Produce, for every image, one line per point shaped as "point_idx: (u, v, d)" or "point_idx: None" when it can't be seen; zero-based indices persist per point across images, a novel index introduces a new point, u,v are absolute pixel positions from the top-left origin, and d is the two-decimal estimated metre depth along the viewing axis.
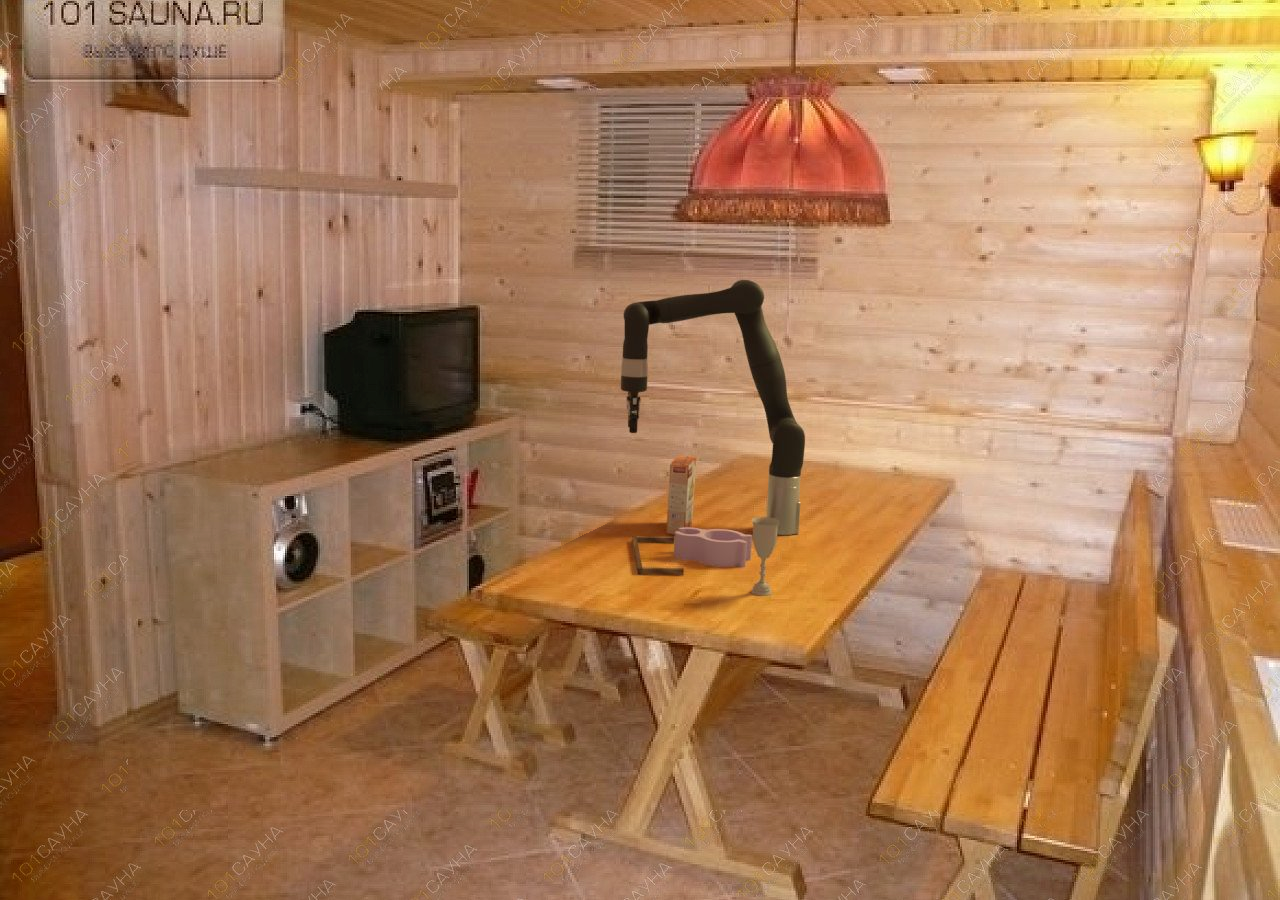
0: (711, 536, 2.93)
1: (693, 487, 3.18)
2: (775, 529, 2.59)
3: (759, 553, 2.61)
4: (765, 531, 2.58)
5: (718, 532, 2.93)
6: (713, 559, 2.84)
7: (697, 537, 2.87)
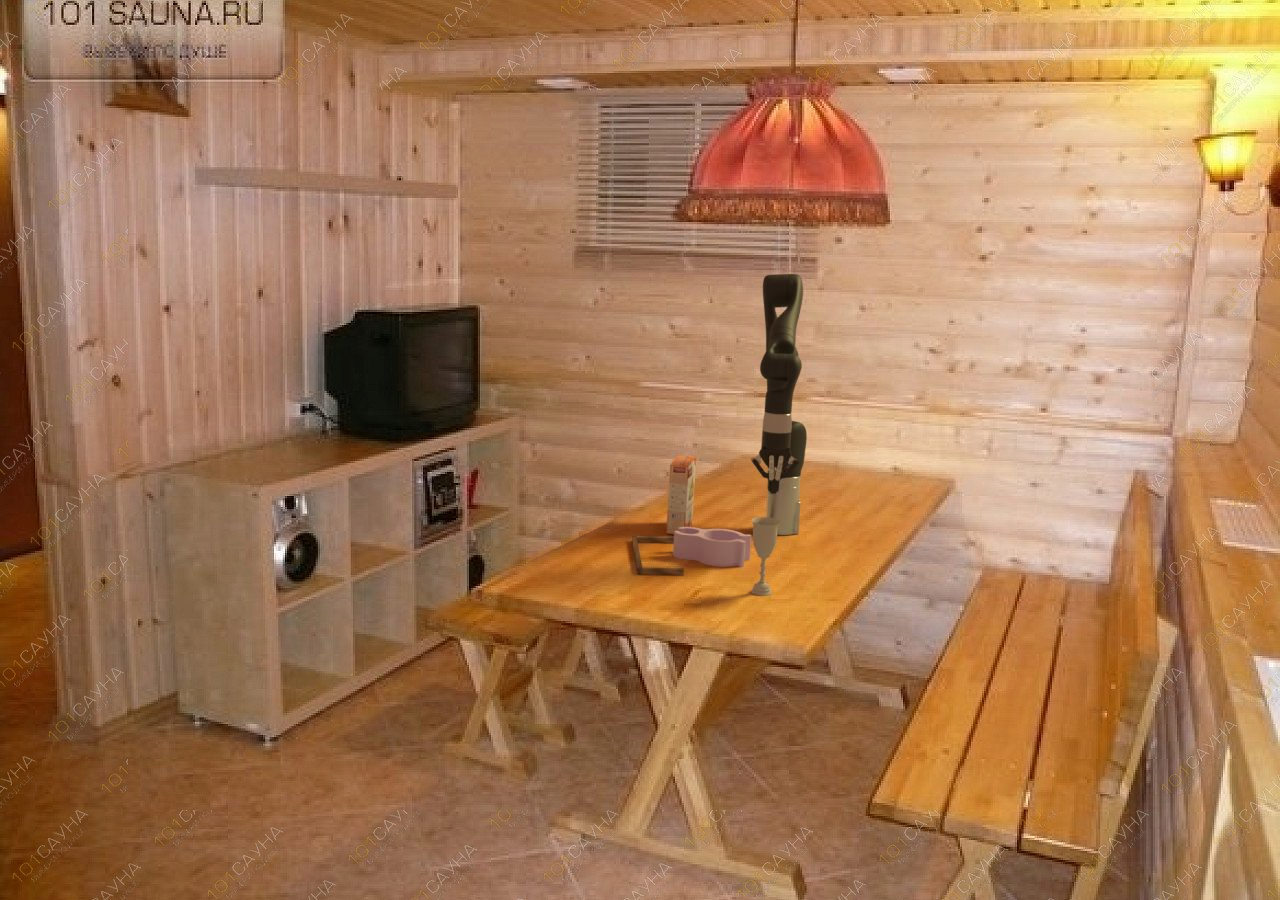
0: (710, 536, 2.93)
1: (693, 487, 3.18)
2: (775, 529, 2.59)
3: (759, 553, 2.61)
4: (765, 531, 2.58)
5: (717, 532, 2.93)
6: (712, 559, 2.84)
7: (696, 537, 2.87)
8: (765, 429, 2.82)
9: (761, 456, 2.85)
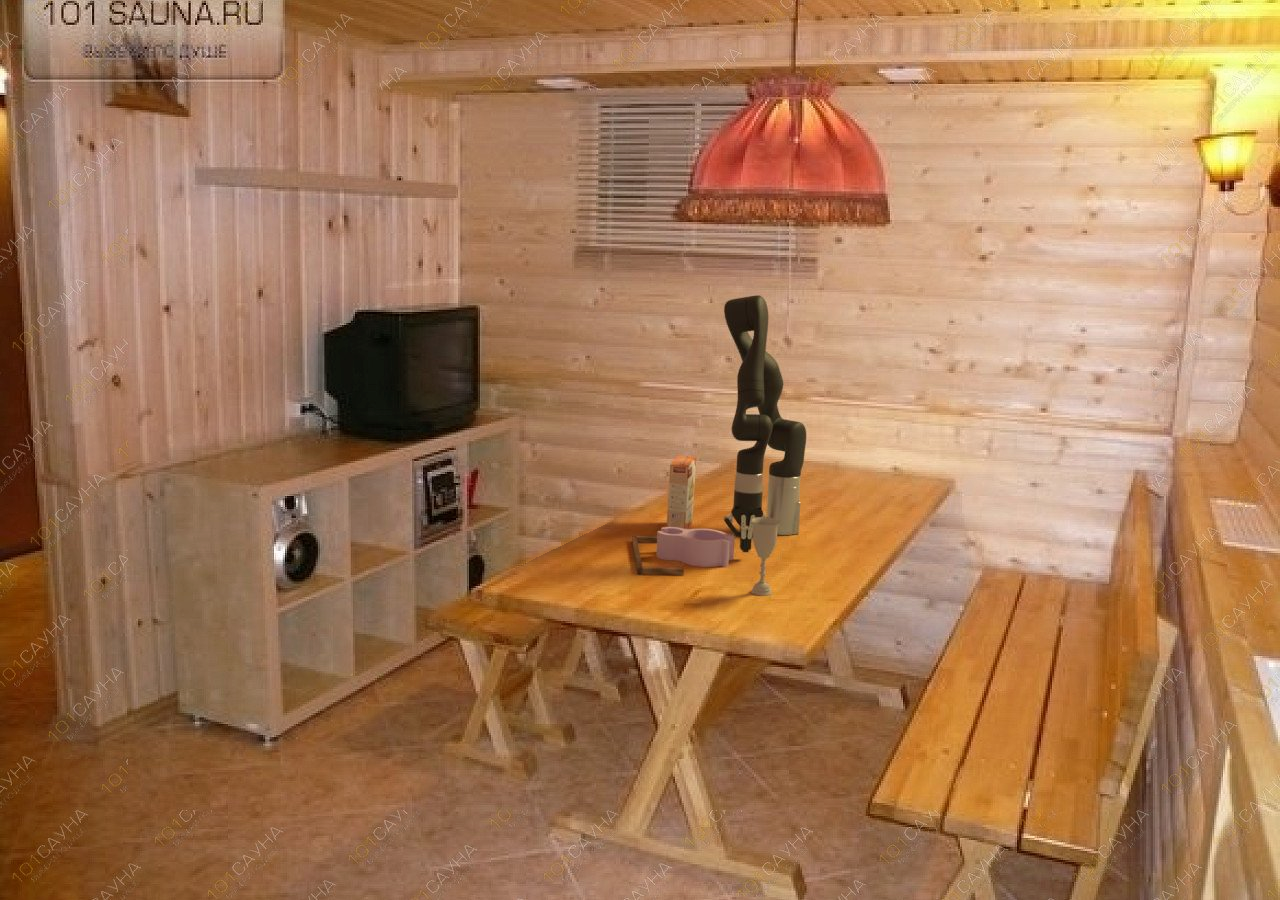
0: (694, 536, 2.92)
1: (693, 487, 3.18)
2: (775, 529, 2.59)
3: (759, 553, 2.61)
4: (765, 531, 2.58)
5: (700, 531, 2.93)
6: (696, 559, 2.83)
7: (680, 537, 2.86)
8: (737, 489, 2.85)
9: (733, 515, 2.87)
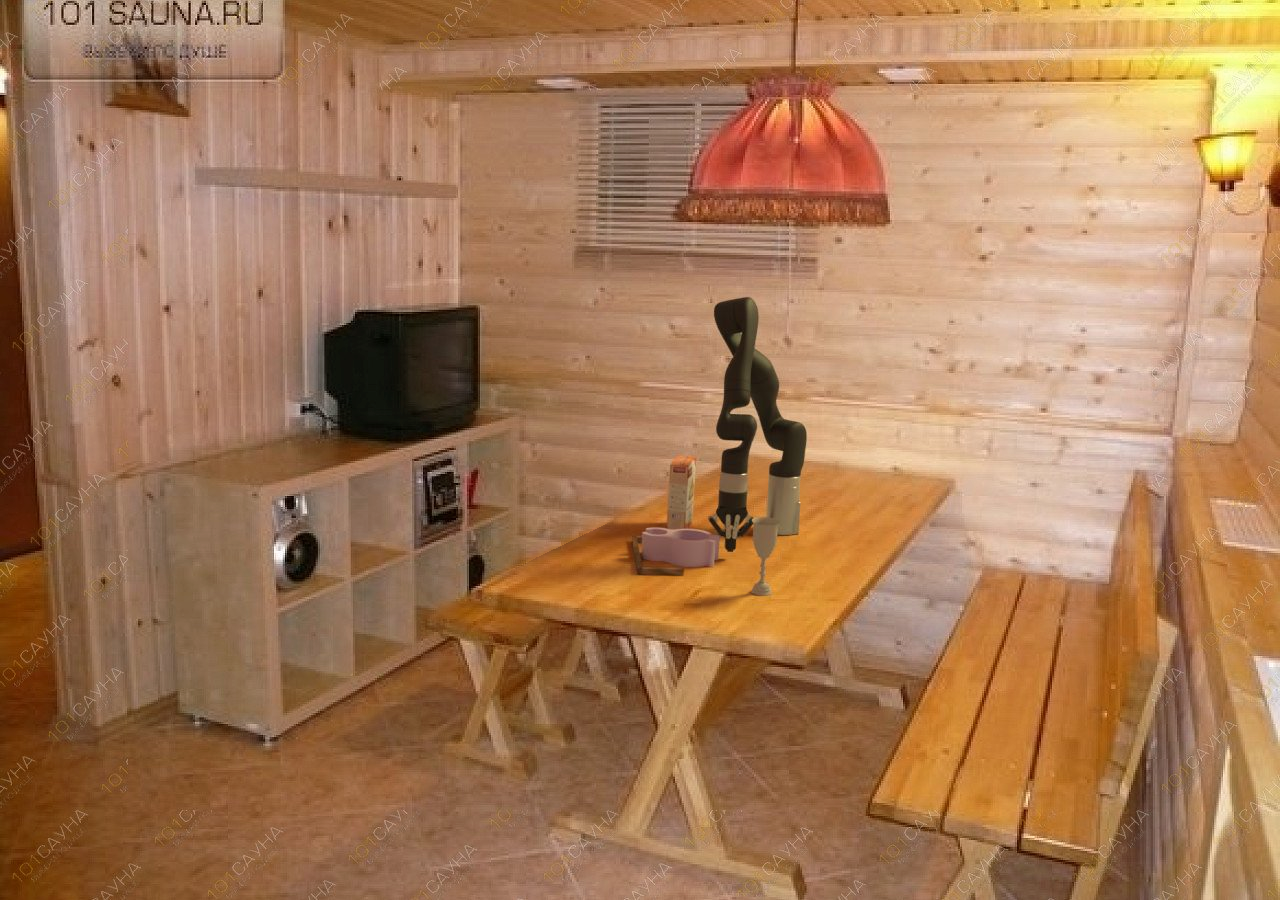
0: (678, 536, 2.91)
1: (693, 487, 3.18)
2: (775, 529, 2.59)
3: (759, 553, 2.61)
4: (765, 531, 2.58)
5: (685, 532, 2.92)
6: (682, 559, 2.82)
7: (665, 538, 2.85)
8: (721, 488, 2.85)
9: (718, 515, 2.87)
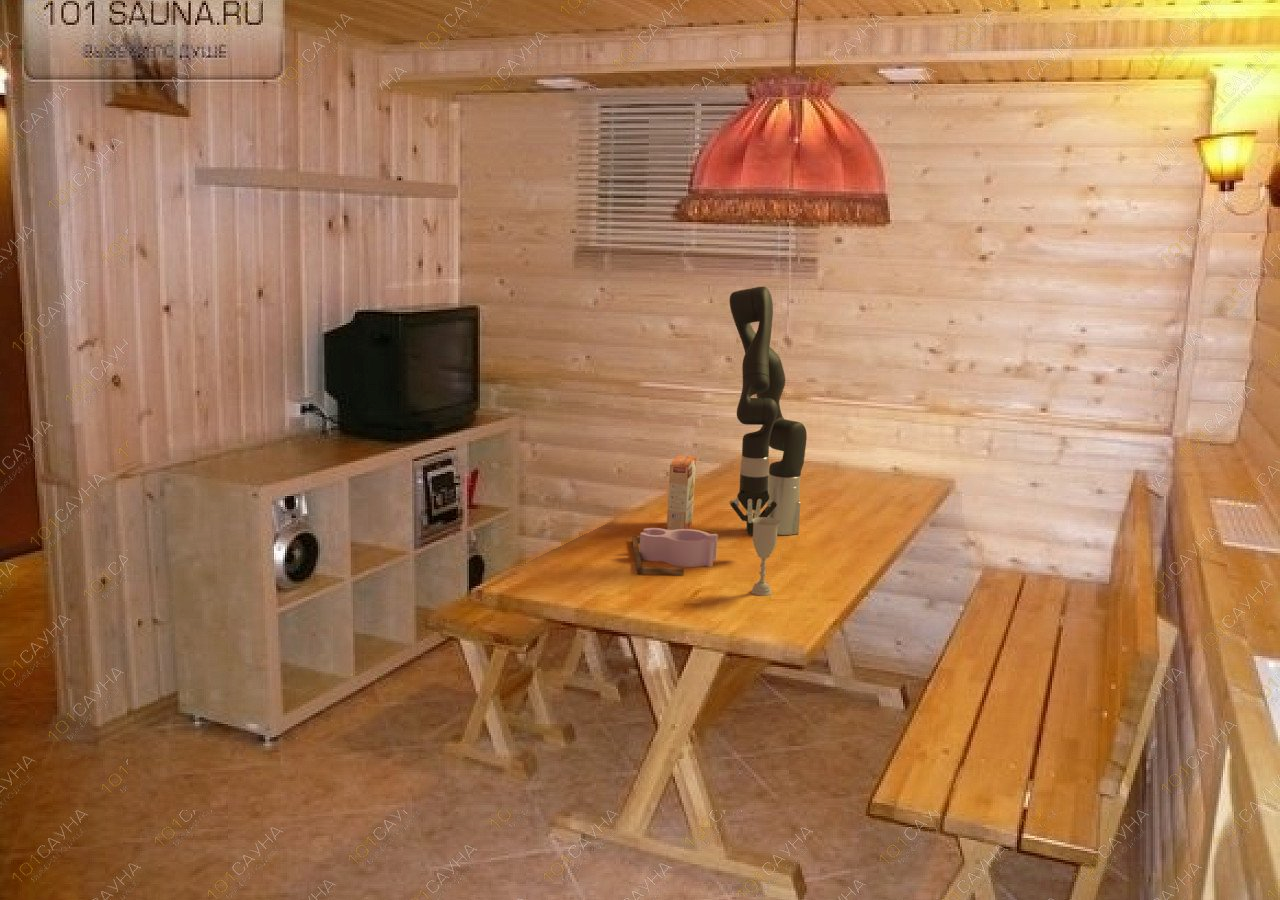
0: (676, 536, 2.91)
1: (693, 487, 3.18)
2: (775, 529, 2.59)
3: (759, 553, 2.61)
4: (765, 531, 2.58)
5: (682, 532, 2.92)
6: (680, 559, 2.82)
7: (664, 538, 2.85)
8: (743, 473, 2.84)
9: (739, 499, 2.86)
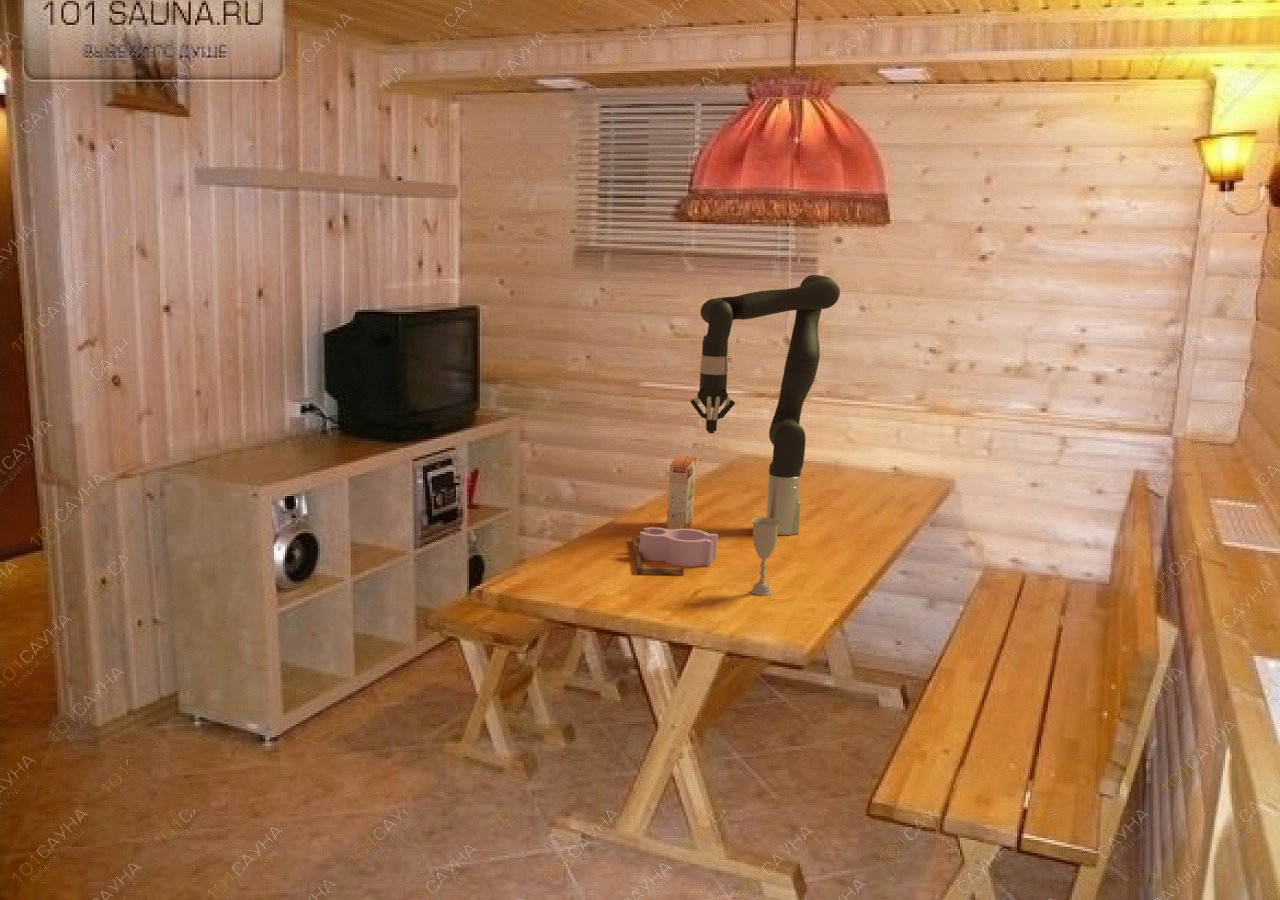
0: (676, 536, 2.92)
1: (693, 487, 3.18)
2: (775, 529, 2.59)
3: (759, 553, 2.61)
4: (765, 531, 2.58)
5: (683, 531, 2.92)
6: (679, 559, 2.83)
7: (663, 537, 2.85)
8: (702, 371, 2.99)
9: (699, 397, 3.02)
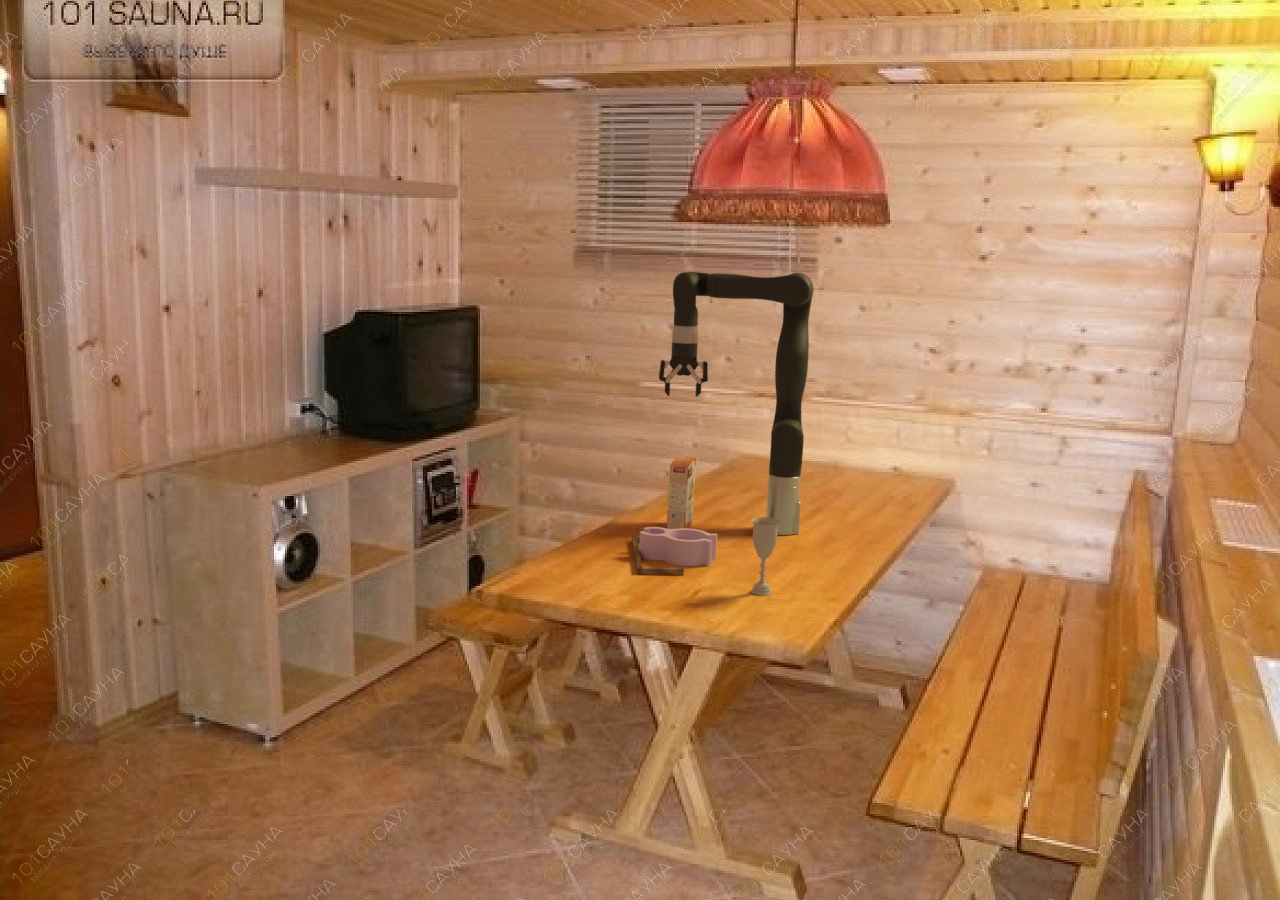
0: (676, 535, 2.92)
1: (693, 487, 3.18)
2: (775, 529, 2.59)
3: (759, 553, 2.61)
4: (765, 531, 2.58)
5: (683, 531, 2.92)
6: (679, 559, 2.83)
7: (663, 537, 2.86)
8: (674, 340, 3.14)
9: (671, 365, 3.17)
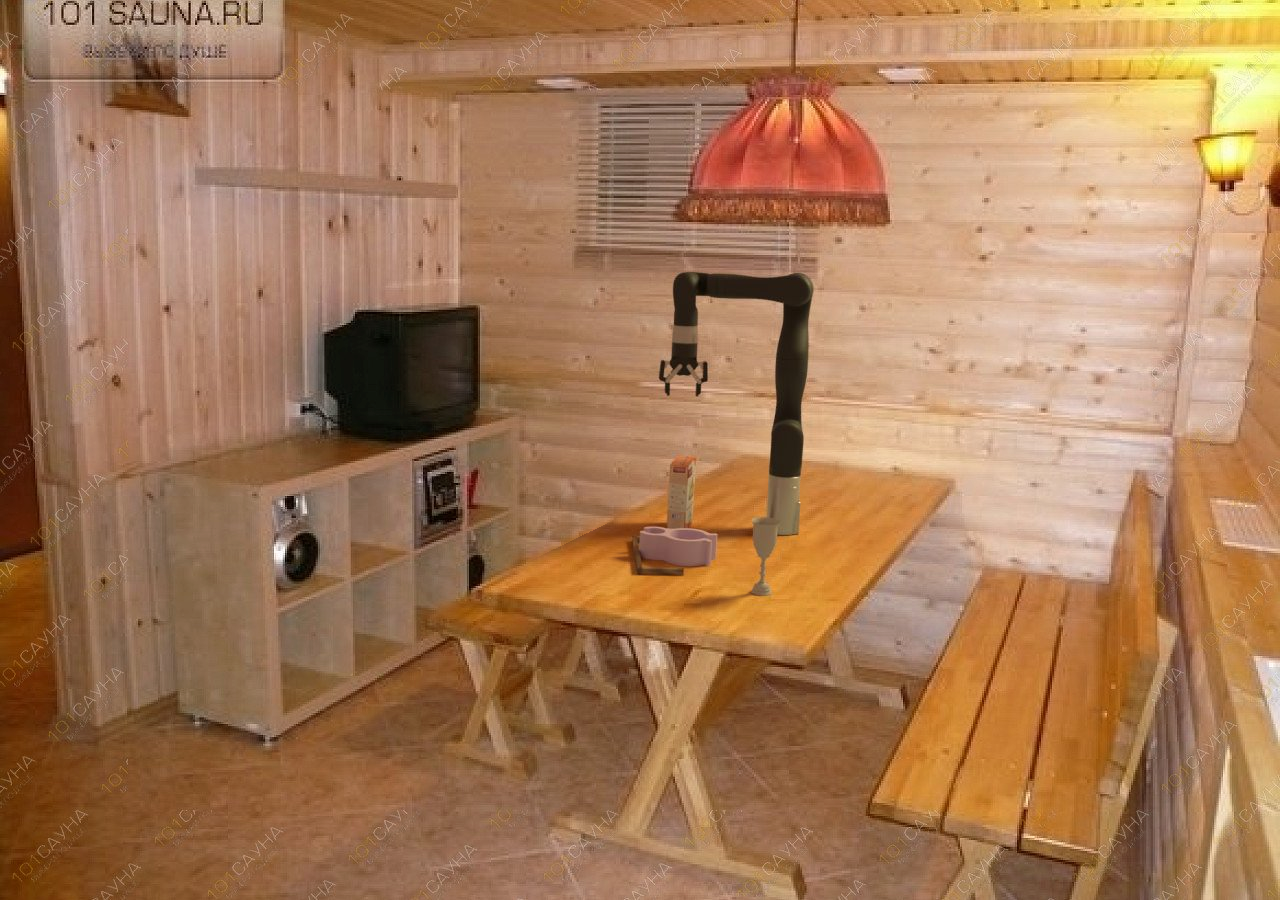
0: (676, 535, 2.92)
1: (693, 487, 3.18)
2: (775, 529, 2.59)
3: (759, 553, 2.61)
4: (765, 531, 2.58)
5: (683, 531, 2.93)
6: (678, 558, 2.83)
7: (663, 537, 2.86)
8: (674, 340, 3.14)
9: (671, 365, 3.17)
